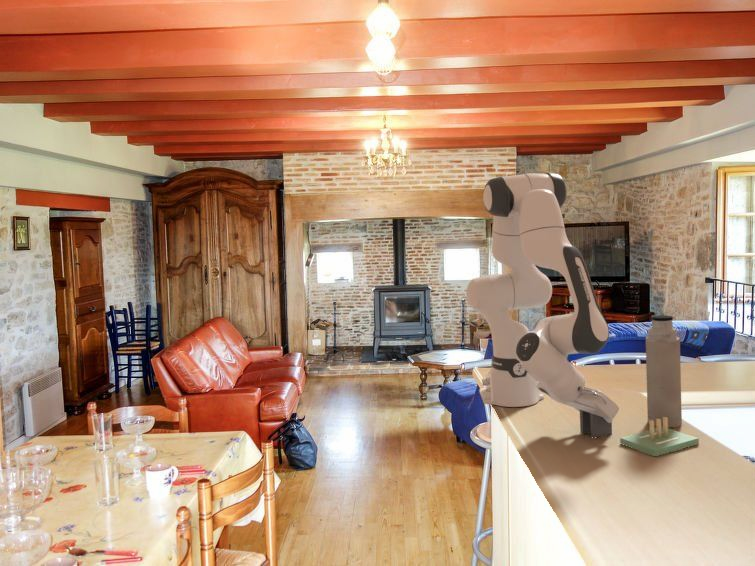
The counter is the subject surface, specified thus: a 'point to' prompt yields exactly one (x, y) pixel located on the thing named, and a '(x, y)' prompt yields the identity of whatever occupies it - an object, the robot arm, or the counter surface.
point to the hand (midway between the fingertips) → (597, 416)
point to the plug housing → (594, 425)
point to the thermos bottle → (663, 372)
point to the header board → (659, 439)
